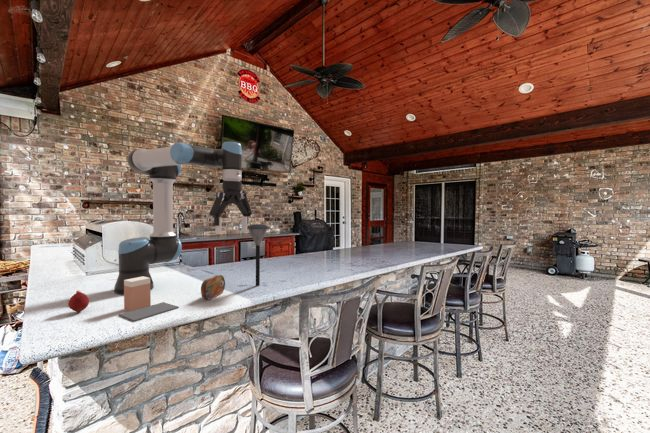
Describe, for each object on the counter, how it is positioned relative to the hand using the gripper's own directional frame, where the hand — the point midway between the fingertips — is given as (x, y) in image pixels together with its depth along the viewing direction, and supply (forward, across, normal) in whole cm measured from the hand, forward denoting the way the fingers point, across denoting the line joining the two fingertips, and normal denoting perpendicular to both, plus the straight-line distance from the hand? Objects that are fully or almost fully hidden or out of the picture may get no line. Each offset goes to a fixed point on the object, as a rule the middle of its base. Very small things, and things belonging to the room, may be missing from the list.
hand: (232, 232), depth 123 cm
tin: (+28, 0, +11) cm, 30 cm away
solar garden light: (+28, +23, +7) cm, 37 cm away
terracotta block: (+28, -25, +23) cm, 44 cm away
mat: (+28, -25, +15) cm, 40 cm away
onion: (+28, -39, +35) cm, 60 cm away
